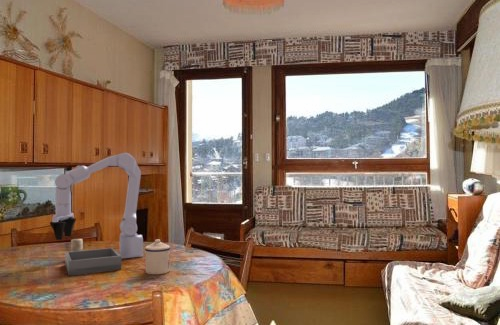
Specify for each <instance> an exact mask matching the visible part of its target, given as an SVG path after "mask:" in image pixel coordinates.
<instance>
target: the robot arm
mask: <svg viewBox="0 0 500 325" xmlns="http://www.w3.org/2000/svg"><path fill="white" fill-rule="evenodd" d="M107 167H118V168H121V169H122V170H123V171H125V173H126V174H127V175H128V181H127V190H126V198H125V205H124V213H123V216H122V219H121V221H120V222H119V229H120V231H121V233H119V254H120V255H121V260H123V259H131V258H132V259H133V258H137V257H138V258H140V257H142V258H143V257H144V238H143V234H138V233H137V232H138V224H137V208H138V199H139V192H140V184H141V176H142V170H141V169H140V168H139V165H138V163H137V161H136V158H135V157H133V155H132V154H130V153H129V152H122V153H119V154H116V155H112V156H108V157H106V158H104V159H101V160H99V161H97V162H95V163H92V164H90V165H88V166H86V165H77V166H75V168H73V169H71V170H69V171H67V170H66V171H64V173H65V174H64V173H61V174H59V175H58V176H57V177H56V178H55V181H54V183H55V185H56V188H55V214H53V215H52V219H51V220H52V221H49V225H50V226H51V229H52V231H53V233H54V237H55V240H58V241H60V240H61V241H62V240H63V237H71V236H72V233H73V232H72V231H73V228H74V225H75V223H76V221H77V218H76V217H75V215H74V212H72V193H71V185H76V184H78V183H81V182H83V181H86V180H87V179H89V178H90V176H91V174H93V173H96V172H98V171H101V170H103V169H105V168H107Z"/></svg>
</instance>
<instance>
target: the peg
mask: <svg viewBox="0 0 500 325" xmlns="http://www.w3.org/2000/svg"><path fill="white" fill-rule="evenodd" d="M83 240H84V239H83V238H73V239H71V240H70V252H71V251H82V250H84V249H83V247H84V246H83V244H84V243H83Z"/></svg>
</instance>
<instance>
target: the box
mask: <svg viewBox="0 0 500 325" xmlns="http://www.w3.org/2000/svg"><path fill="white" fill-rule="evenodd" d="M64 253H65V254H64V256H65V257H64V259H65V260H64V264H65V268H66V271H67V274H68V276H76V275H85V274H86V275H87V274H93V273H95V274H96V273H101V272H102V273H103V272H110V271H120V270H122V259H121V255H120V252H118V251H117V250H116V249H115V248H114V247H105V248H97V249H96V248H95V249H83V250H82V251H71V250H70V251H65V252H64Z"/></svg>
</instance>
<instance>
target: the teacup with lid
mask: <svg viewBox="0 0 500 325" xmlns="http://www.w3.org/2000/svg"><path fill="white" fill-rule="evenodd" d="M170 250H171V246H170V245H169V244H166V243H164V242H161V239H159V238H158V239H155V240H154V242H152V243H151V244H149V245H148V244H147V245H146V246H145V247H144V251H145V274H148V275H163V274H168V273H169V272H170V271H171V270H170V268H171V266H170V265H171V260H170V259H171V258H170V257H171V256H170V254H171V253H170V252H171V251H170Z"/></svg>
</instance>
